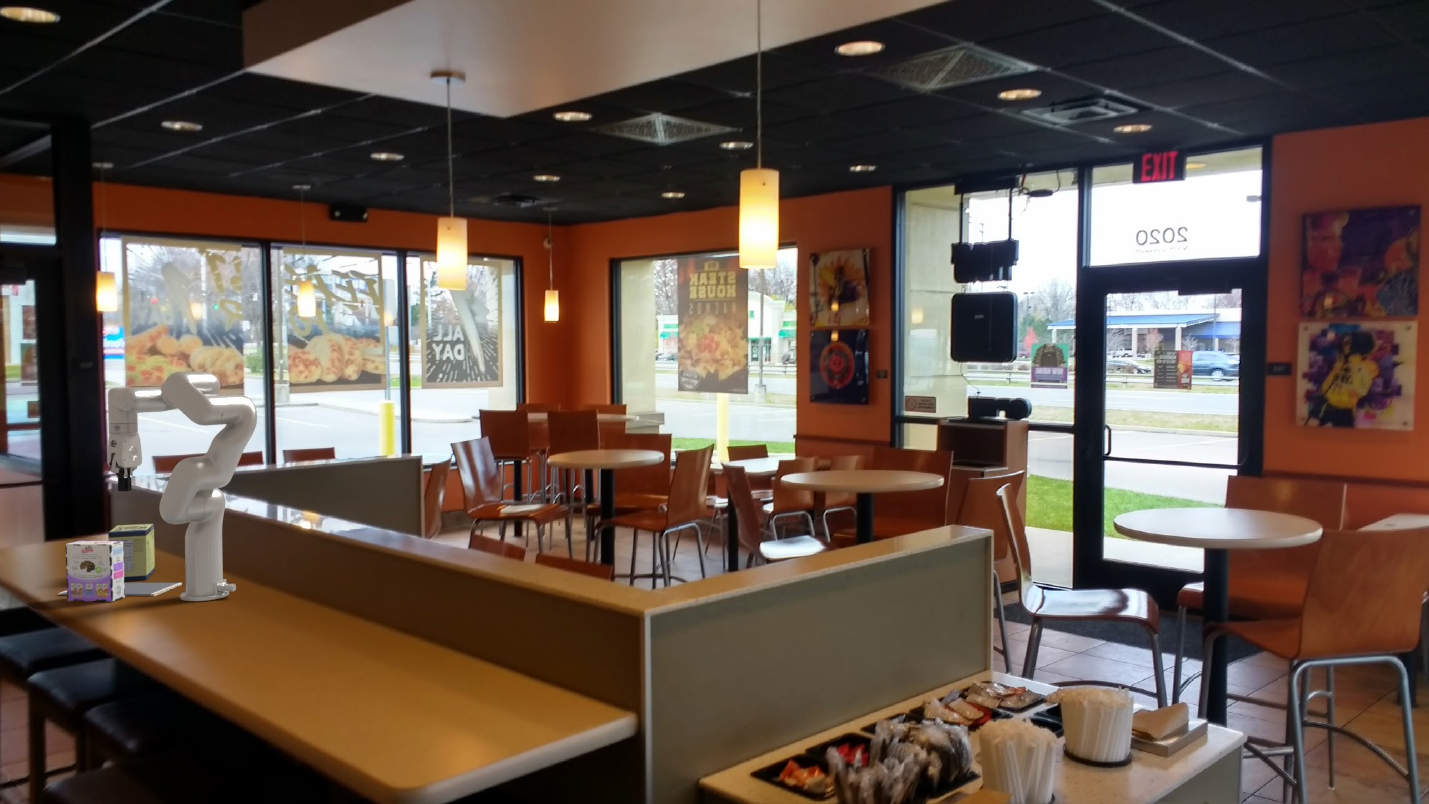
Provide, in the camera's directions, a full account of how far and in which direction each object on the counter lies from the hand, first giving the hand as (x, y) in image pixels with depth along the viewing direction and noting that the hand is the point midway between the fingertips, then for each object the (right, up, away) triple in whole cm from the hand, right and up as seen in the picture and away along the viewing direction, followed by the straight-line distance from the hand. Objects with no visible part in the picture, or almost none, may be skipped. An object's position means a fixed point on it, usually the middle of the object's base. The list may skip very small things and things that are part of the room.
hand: (124, 490), depth 308 cm
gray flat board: (+1, -29, -3) cm, 29 cm away
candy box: (0, -30, -15) cm, 33 cm away
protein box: (-7, -29, +16) cm, 33 cm away
